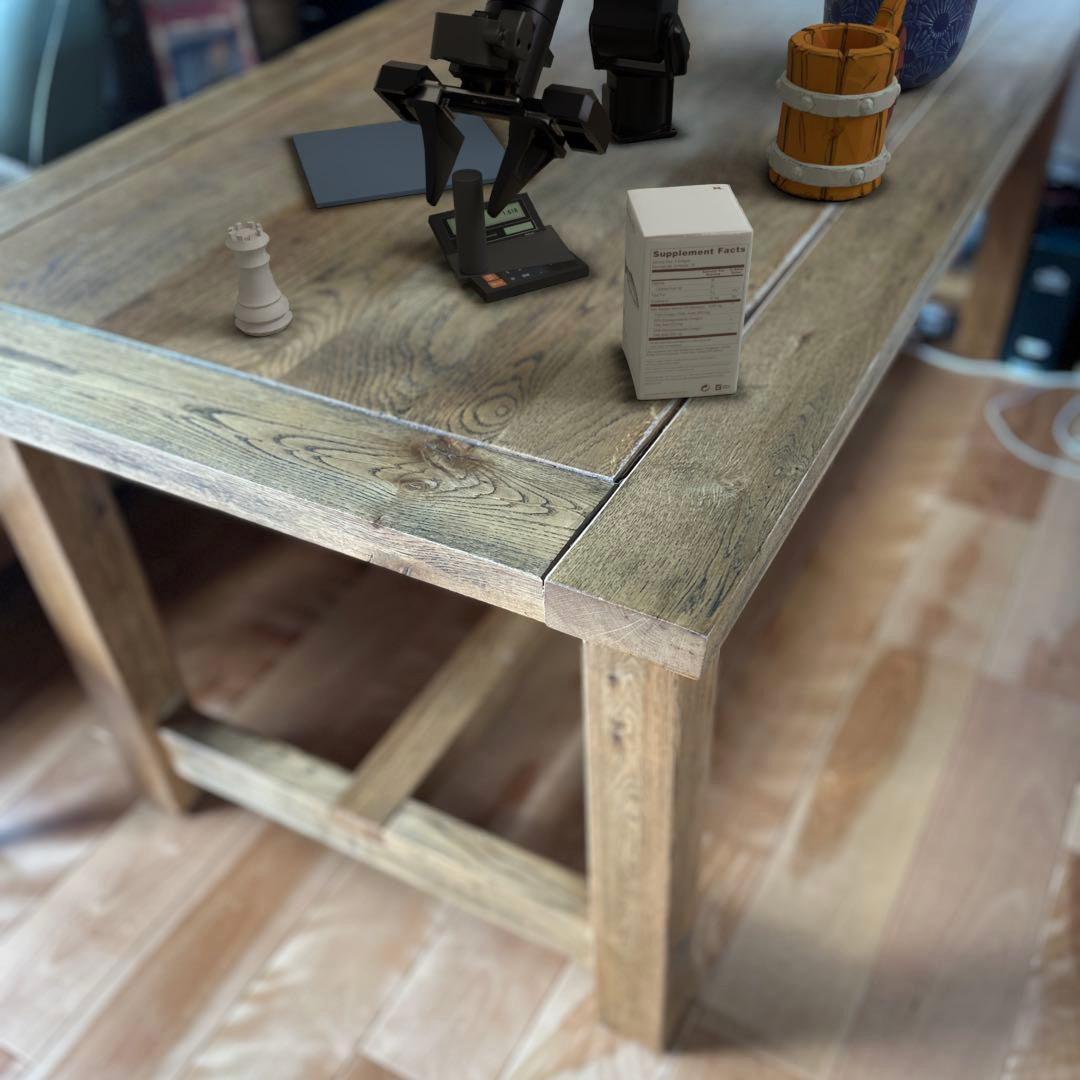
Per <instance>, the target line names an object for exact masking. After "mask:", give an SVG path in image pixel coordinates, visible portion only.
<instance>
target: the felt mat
mask: <svg viewBox="0 0 1080 1080" xmlns="http://www.w3.org/2000/svg"><path fill="white" fill-rule="evenodd" d="M454 125H455V126H456V127H457V128H458V129H459V131H460V132H461V133H462V134H463V135H464V136H465V139H464V142H463V144H462V147H461V149H460V152H459V154H458V157H457V159H456V162H455V164H454V167H453V169H452V172H451V174H450V177H449V180H448V182H447V185H446V187H445V190H446V191H447V190H453V188H452V174H453V173H454V172H456V171H458V170H462V169H475V170H478V171H480V172H481V173H482V178H483V185H488V184H494V183H495V180H496V177H497V174H498V171H499V168H500V165H501V162H502V159H503V157H504V154H505V151H506V148H505V147H503V145H502V144H501V143H500V141H499V140H498V138H497V137H496V136H495V134H494V133H493V132H492V130H491V129H490V128H489V126H488V125H487V123H486V122H485V120H484V119H483V117H480V116H474V115H468V114H461V113H458V115H457V118H456V121H455V124H454ZM291 139H292V142H293V144H294V148H295V151H296V153H297V156H298V158H299V162H300V164H301V168H302V170H303V173H304V176H305V178H306V181H307V184H308V187H309V189H310V193H311V195H312V198H313V201H314V203H315V206H316V209H322V208H329V207H335V206H336V207H337V206H343V205H344V206H345V205H350V204H356V203H364V202H369V201H370V202H371V201H377V200H383V199H391V198H398V197H404V196H413V195H419V194H426V181H425V153H424V142H423V136H422V130H421V126H420V125H416V124H410V123H408V122H406V121H404V120H395V121H387V122H381V123H380V122H379V123H373V124H365V125H357V126H351V127H350V126H349V127H342V128H333V129H327V130H320V131H311V132H304V133H303V132H302V133H296V134H295V133H294V134H292V135H291ZM445 190H444V191H445Z"/></svg>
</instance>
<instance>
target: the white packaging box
mask: <svg viewBox="0 0 1080 1080" xmlns="http://www.w3.org/2000/svg"><path fill="white" fill-rule="evenodd" d="M625 194H626V204H625V234H624V235H625V241H624V270H623V298H622V302H623V303H622V304H623V305H622V329H621V331H622V337H621V348H622V351H623V353H624V356H625V358H626V361H627V364H628V367H629V371H630V375H631V379H632V382H633V386H634V391H635V395H636V400H638V401H639V400H640V401H646V400H647V401H650V400H652V401H653V400H667V399H681V398H697V397H706V396H707V397H711V396H722V395H733V394H736V392H737V387H738V380H739V371H740V359H741V350H742V343H743V342H742V341H743V333H744V325H745V316H746V306H747V299H748V289H749V281H750V272H751V264H752V256H753V255H752V254H753V241H754V228H753V227H752V225H751V223H750V221H749V220H748V217H747V216H746V213H745V212H744V210H743V208H742V206H741V204H740V203H739V201H738V199H737V197H736V196H735V193H734V191H733V190H732V188H731V185H730V184H728V183H727V184H726V183H725V184H724V183H718V184H717V183H714V184H713V183H710V184H708V183H707V184H695V185H694V184H693V185H680V186H666V187H651V188H649V187H647V188H635V189H628V190H626V193H625Z"/></svg>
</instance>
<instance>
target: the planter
mask: <svg viewBox="0 0 1080 1080" xmlns="http://www.w3.org/2000/svg"><path fill="white" fill-rule="evenodd" d="M978 1H979V0H907V1H906V5H905V9H904V12H903V15H902V17H901V18H902V19H903V22H904V26H905V30H906V42H905V45H904V59H903V68H902V69H900V73H899V78H898V81H900V89H901V90H904V89H905V90H906V89H912V88H917V87H921V86H924V85H927V84H929V83H931V82H933V81H935V80H937V79H938V78H939V77H940V76H942V75H943V74H944V73H946V71H948V70H949V69H950V67H952V65H953V64H954V62H955V61H956V59H957V58H958V56H959V54H960V53H961V51H962V49H963V47H964V45H965V42H966V40H967V37H968V35H969V31H970V28H971V26H972V21H973V19H974V14H975V11H976V8H977V4H978ZM882 2H883V0H824V2H823V14H822V15H823V16H822V17H823V18H822V23H832V24H835V25H837V24H839V23H845V24H847V23H853V24H861V25H867V26H871V27H872V26H873V24H874V21H875V18H876V16H877V13H878V11H879V8H880V6H881V4H882Z"/></svg>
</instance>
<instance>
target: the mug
mask: <svg viewBox="0 0 1080 1080" xmlns="http://www.w3.org/2000/svg"><path fill="white" fill-rule="evenodd" d="M906 1H907V0H883V2H882V4H881V6H880V8H879V11H878V13H877V16H876V18H875V21H874V24H873V26H872V27H871V26H867V25H861V24H853V23H847V24H845V23H839V24H837V25H835V24H832V23H823V22H822V23H817V24H811V25H809V26H806V27H803V28H801V29H800V30H798V31H796V32H795V33H793V34H792V35H791V36H790V38H789V39H788V41H787V55H786V69H785V70H784V71H782V72H781V73H782V74H781V75H780V76H781V77H779V78H777V80H776V82H775V85H774V86H775V89H776V90H777V91H778V92H779V93H778V96H779V98H780V99H781V101H782V103H781V109H780V115H779V121H778V128H777V135H776V136H774V138H773V139H772V140H771V142H770V144H769V145H768V146H767V148H766V150H765V156H766V158H767V159H768V165H769V166H770V168H769V171H768V174H769V181H770V182H771V183H772V184H773V185H775V186H776V187H777V189H781V190H782V191H783V192H785V193H787V194H790V195H793V196H796V197H799V198H800V197H801V198H805V199H811V200H815V201H819V200H824V201H835V202H837V201H841V202H842V201H849V200H854V199H857V198H859V197H865V196H867V195H869V194H871V193H872V192H873V191H875V190H876V189H877V188H878V187H879V186H880V184H881V182H882V174H884V172H885V170H886V166H889V164H890V162H891V160H892V157H891V152H889V151H888V148H887V144H886V143H885V136H886V130H887V128H888V126H889V124H890V120H891V118H892V116H893V112H894V108H895V107H896V105H897V102H898V98H899V95H900V94H901V91H902V89H900V81H898V78H899V73H900V69H902V68H903V59H904V45H905V42H906V30H905V26H904V22H903V19H902V18H901V17H902V15H903V12H904V9H905V5H906Z"/></svg>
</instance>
